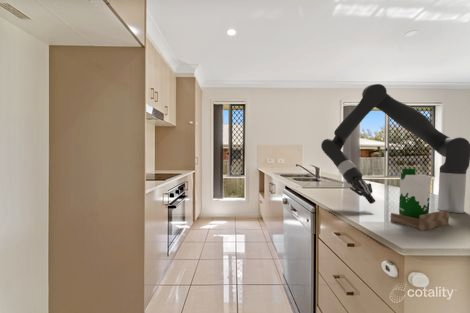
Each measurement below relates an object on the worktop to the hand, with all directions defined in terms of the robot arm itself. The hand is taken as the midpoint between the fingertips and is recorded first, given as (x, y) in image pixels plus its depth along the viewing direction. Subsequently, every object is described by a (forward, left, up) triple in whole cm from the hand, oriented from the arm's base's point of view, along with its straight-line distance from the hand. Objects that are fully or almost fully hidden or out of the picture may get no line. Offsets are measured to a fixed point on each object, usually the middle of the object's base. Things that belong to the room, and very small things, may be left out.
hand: (373, 202), depth 109 cm
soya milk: (-1, +16, -4) cm, 16 cm away
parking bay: (0, +17, -4) cm, 17 cm away
